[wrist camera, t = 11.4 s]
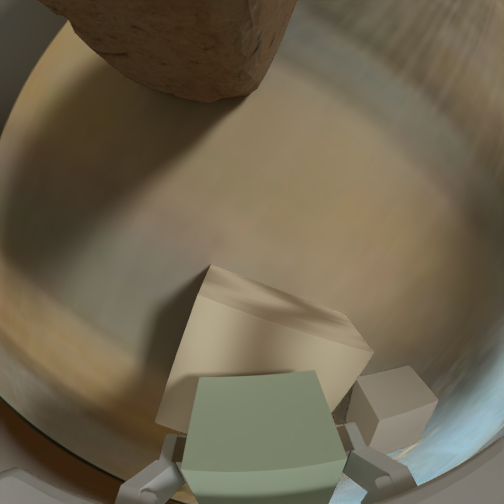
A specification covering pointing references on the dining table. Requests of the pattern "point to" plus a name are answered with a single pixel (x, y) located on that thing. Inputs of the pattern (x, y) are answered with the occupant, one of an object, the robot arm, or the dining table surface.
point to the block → (183, 41)
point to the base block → (259, 343)
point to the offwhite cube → (391, 408)
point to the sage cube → (262, 441)
